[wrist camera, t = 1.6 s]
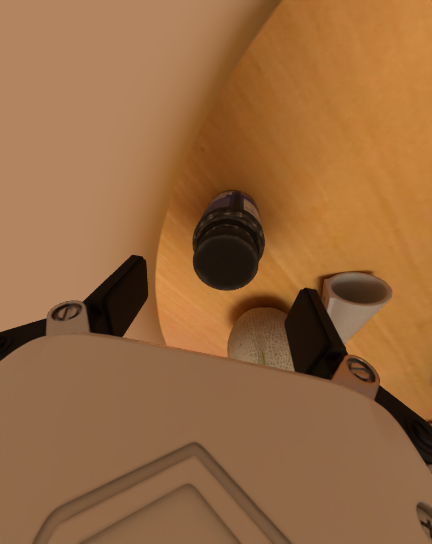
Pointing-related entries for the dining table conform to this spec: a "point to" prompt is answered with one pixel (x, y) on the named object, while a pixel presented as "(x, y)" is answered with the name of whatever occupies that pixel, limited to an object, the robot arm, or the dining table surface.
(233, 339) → the fruit
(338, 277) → the long tapered cone
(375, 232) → the dining table surface
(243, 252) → the pill bottle
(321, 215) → the dining table surface
